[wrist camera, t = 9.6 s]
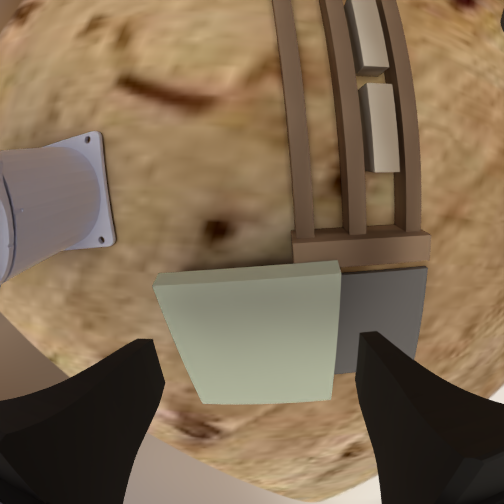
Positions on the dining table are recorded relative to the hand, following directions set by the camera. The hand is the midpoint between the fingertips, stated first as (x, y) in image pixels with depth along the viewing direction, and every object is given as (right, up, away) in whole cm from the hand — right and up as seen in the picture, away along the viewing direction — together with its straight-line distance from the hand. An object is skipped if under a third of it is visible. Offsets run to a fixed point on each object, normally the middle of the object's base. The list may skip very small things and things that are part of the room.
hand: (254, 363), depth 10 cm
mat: (+6, -1, +11) cm, 12 cm away
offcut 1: (+7, +17, +5) cm, 19 cm away
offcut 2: (+7, +11, +7) cm, 15 cm away
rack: (+6, +14, +6) cm, 16 cm away
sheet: (+5, -2, +9) cm, 10 cm away
